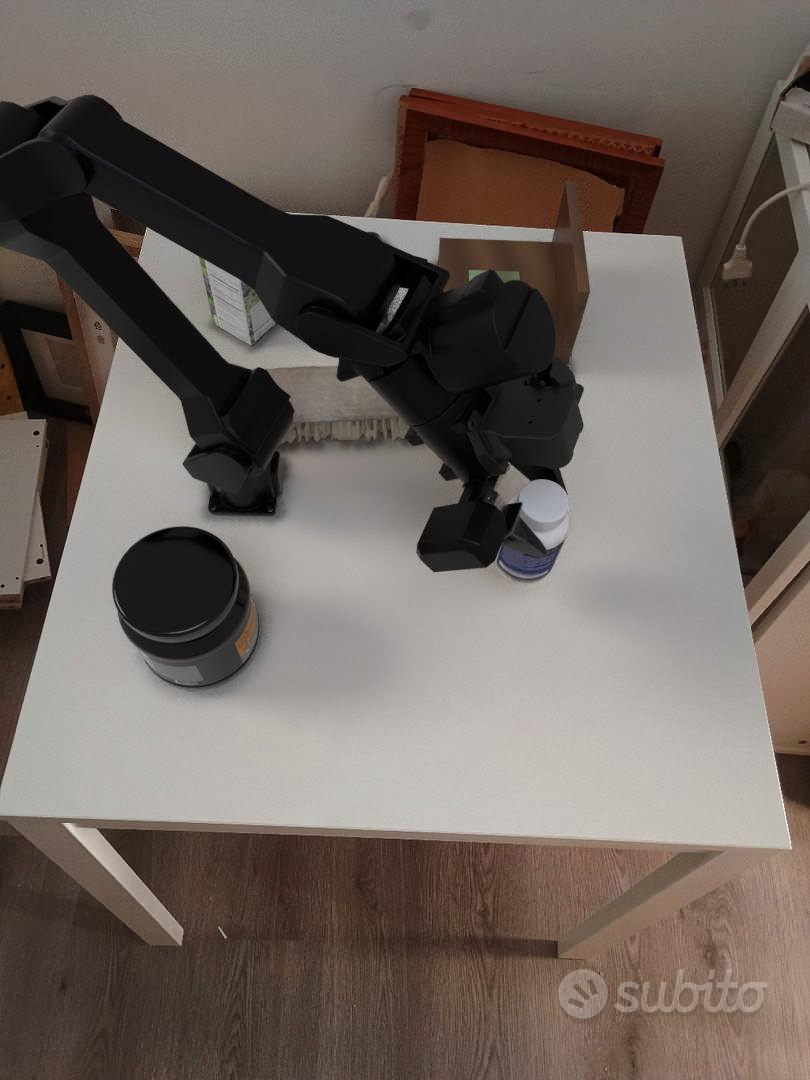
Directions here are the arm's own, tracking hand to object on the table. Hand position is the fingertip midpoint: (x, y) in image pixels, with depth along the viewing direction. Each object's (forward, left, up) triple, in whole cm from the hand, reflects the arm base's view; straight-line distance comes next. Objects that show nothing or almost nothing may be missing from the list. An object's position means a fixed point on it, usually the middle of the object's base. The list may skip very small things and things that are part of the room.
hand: (552, 526), depth 66 cm
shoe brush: (-19, +19, -12) cm, 30 cm away
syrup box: (-29, +32, -12) cm, 46 cm away
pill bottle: (-1, 0, -7) cm, 7 cm away
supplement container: (-29, -6, -12) cm, 32 cm away
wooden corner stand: (-1, +34, -12) cm, 37 cm away
